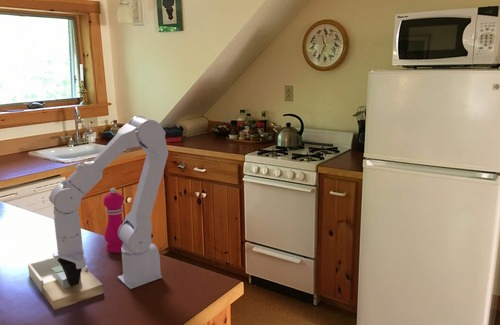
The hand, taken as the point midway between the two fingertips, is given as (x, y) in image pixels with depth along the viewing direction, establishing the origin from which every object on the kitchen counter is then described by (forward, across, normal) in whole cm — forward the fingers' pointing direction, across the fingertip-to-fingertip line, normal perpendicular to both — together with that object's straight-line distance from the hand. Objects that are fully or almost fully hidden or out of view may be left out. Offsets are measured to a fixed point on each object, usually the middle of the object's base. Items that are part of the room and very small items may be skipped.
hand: (74, 284), depth 110 cm
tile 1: (+1, -8, 0) cm, 8 cm away
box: (+3, -13, 0) cm, 13 cm away
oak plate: (+3, -2, 0) cm, 4 cm away
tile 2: (+1, -3, 0) cm, 3 cm away
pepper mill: (+4, -20, +20) cm, 28 cm away
